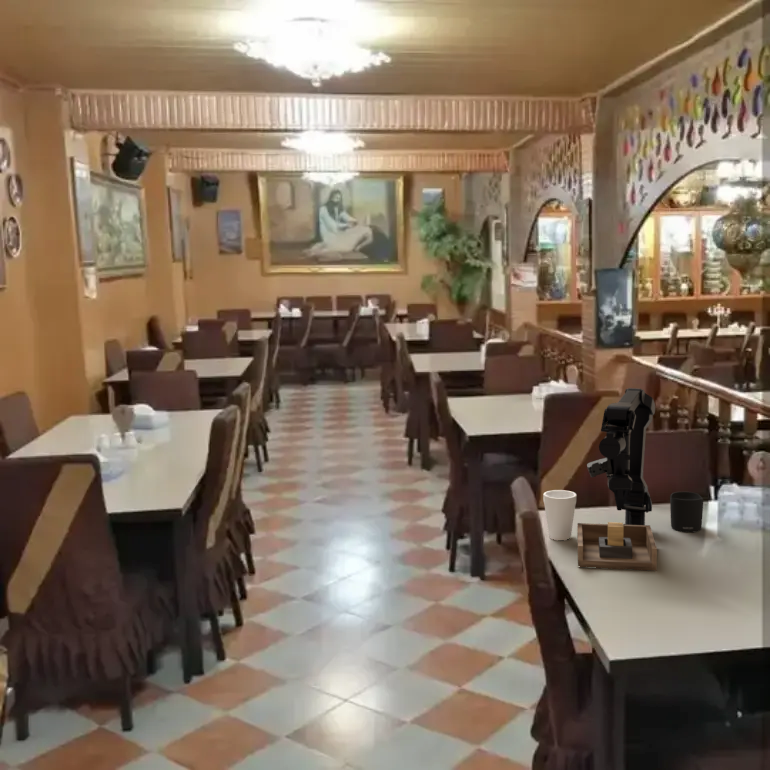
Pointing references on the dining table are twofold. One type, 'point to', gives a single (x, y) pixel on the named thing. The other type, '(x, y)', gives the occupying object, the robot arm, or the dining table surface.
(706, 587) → the dining table surface
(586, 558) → the inlet box
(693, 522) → the pen holder
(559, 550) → the dining table surface
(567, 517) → the foam cup
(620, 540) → the wooden block
